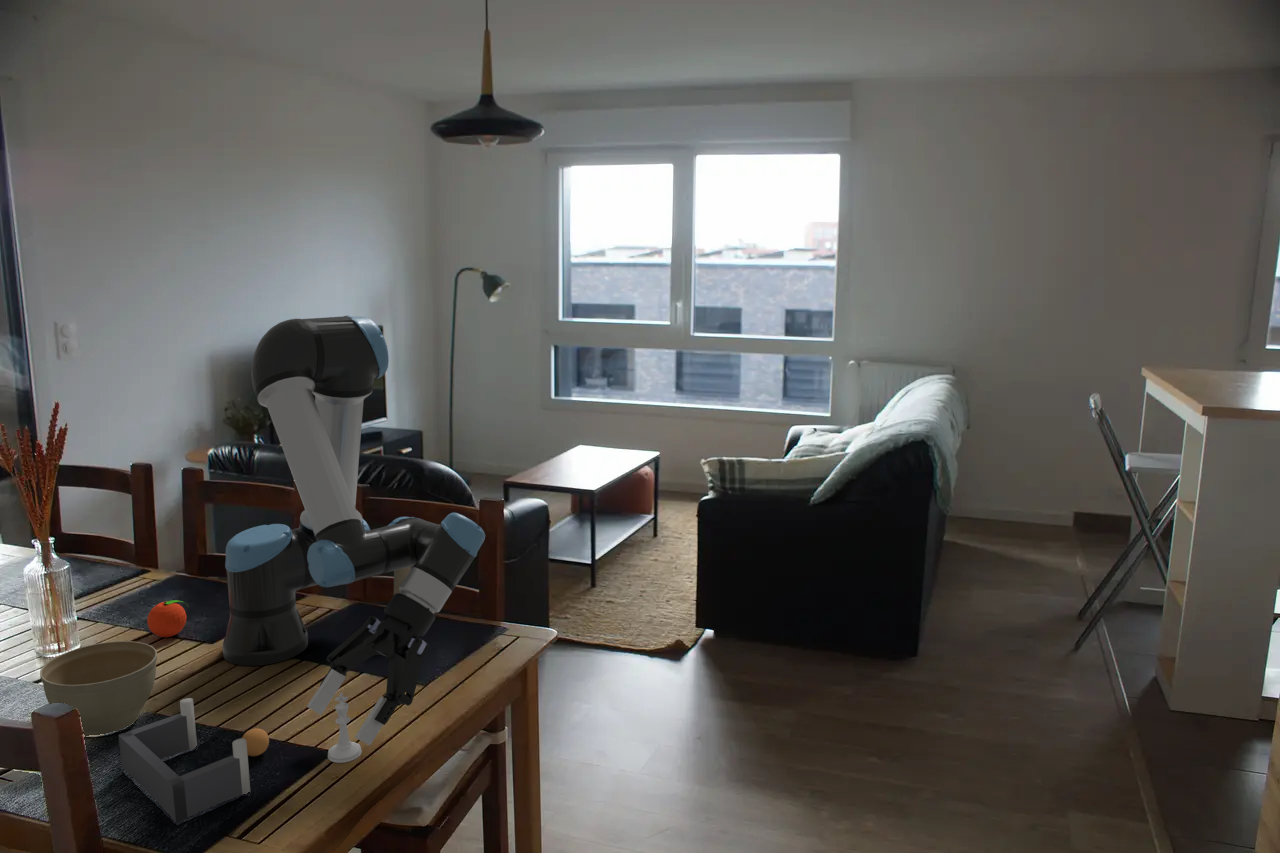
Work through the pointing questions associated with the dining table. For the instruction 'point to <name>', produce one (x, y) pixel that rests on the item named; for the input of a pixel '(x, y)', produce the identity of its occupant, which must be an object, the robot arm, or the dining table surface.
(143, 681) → the planter bowl
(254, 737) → the ball
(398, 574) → the handle
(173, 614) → the clementine
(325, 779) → the dining table surface
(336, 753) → the chess piece
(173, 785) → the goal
